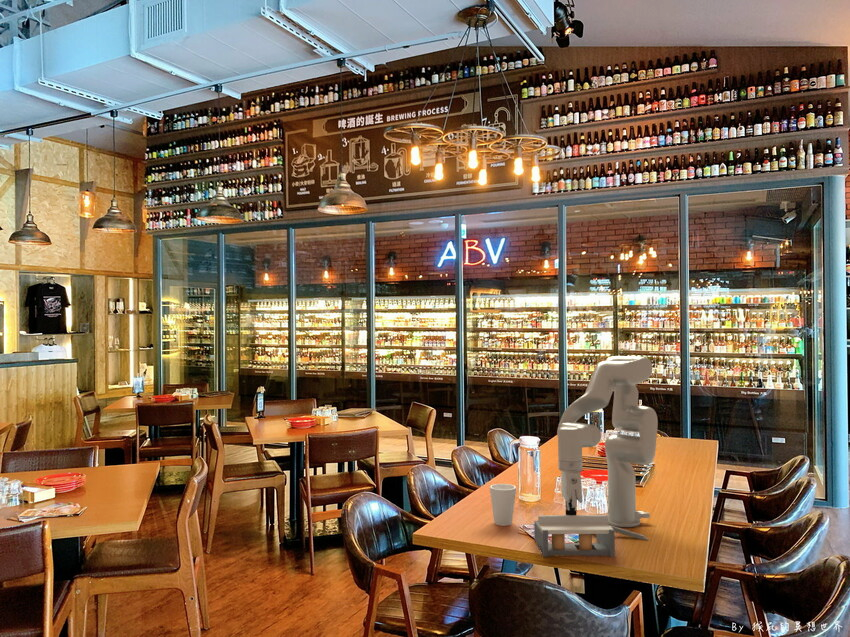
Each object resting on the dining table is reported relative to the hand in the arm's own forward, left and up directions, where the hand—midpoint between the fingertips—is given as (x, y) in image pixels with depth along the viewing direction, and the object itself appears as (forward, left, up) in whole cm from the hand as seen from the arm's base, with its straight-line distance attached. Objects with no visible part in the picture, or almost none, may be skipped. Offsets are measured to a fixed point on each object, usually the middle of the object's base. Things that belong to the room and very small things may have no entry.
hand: (571, 521), depth 203 cm
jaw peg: (-3, +6, -8) cm, 10 cm away
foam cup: (+19, -24, -8) cm, 32 cm away
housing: (0, +2, -8) cm, 8 cm away
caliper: (-18, -10, -8) cm, 22 cm away
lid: (0, +6, -1) cm, 6 cm away
